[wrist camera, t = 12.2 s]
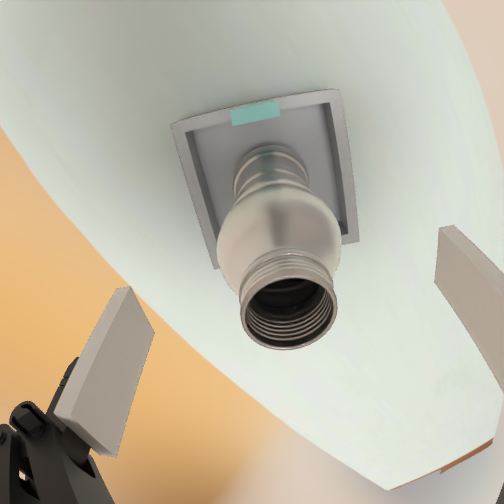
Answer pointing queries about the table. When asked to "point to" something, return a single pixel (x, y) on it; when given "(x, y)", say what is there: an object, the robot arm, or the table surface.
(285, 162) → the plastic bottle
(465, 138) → the table surface
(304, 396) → the table surface
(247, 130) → the tray
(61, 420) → the robot arm
